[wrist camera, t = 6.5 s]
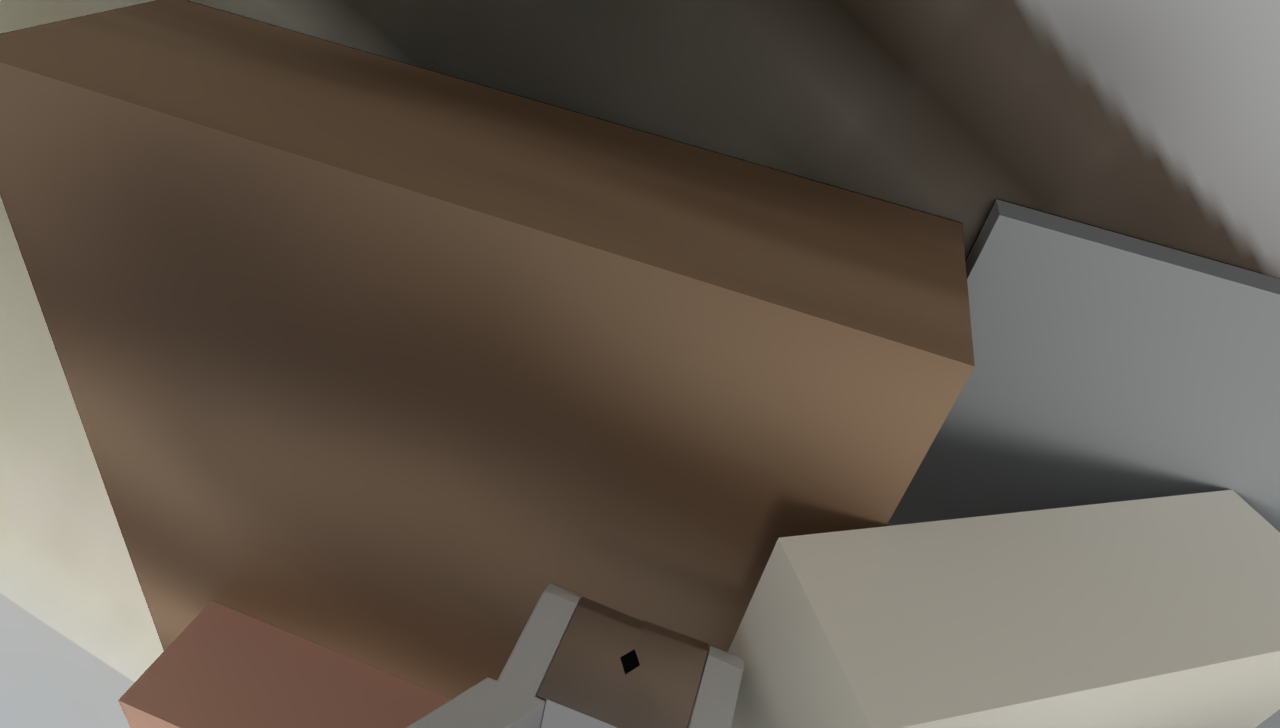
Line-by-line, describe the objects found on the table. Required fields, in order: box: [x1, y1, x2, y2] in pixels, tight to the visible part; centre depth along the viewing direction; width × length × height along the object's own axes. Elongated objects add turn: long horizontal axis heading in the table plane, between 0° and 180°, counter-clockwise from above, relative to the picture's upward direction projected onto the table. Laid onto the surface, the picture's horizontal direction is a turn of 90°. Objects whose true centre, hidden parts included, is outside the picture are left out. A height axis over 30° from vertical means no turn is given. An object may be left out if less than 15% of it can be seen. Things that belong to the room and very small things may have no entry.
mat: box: [886, 199, 1280, 728], centre depth 16 cm, size 20×12×1 cm, turn 170°
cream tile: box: [728, 490, 1280, 728], centre depth 11 cm, size 5×8×2 cm
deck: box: [0, 0, 975, 699], centre depth 17 cm, size 19×14×4 cm
